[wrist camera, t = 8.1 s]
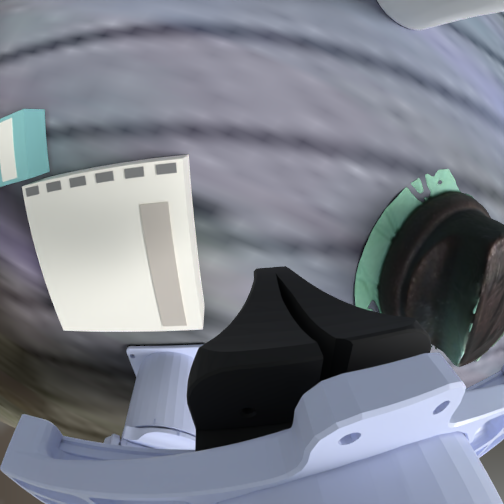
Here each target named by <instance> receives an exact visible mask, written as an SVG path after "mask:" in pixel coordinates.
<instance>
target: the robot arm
mask: <svg viewBox="0 0 504 504" xmlns="http://www.w3.org/2000/svg"><path fill="white" fill-rule="evenodd" d="M430 350H431V339H430V336H429V334H428V333H427V332H426V331H425V329H424V328H423V327H422V326H421V325H420V324H419V322H418V321H417V320H416V319H415V318H410V317H401V316H393V315H387V314H382V313H378V312H373V311H370V310H366V309H363V308H360V307H357V306H354V305H351V304H348V303H346V302H344V301H341V300H339V299H337V298H335V297H333V296H331V295H329V294H327V293H325V292H323V291H322V290H320V289H318V288H316V287H315V286H313V285H312V284H310V283H309V282H307V281H306V280H304V279H303V278H302V277H300V276H299V275H297V274H296V273H295V272H293V271H292V270H290V269H289V268H287V267H286V266H285V267H273V268H260V269H256V270H255V271H254V282H253V285H252V288H251V291H250V294H249V296H248V298H247V300H246V302H245V304H244V306H243V307H242V309H241V311H240V312H239V313H238V315H237V316H236V317H235V319H234V320H233V321H232V322H231V324H230V325H229V326H228V327H227V328H226V329H225V330H223V331H222V332H221V333H220V334H219V335H218V336H216V337H215V338H214V339H212V340H210V341H209V342H207V343H206V344H201V345H176V346H129V347H127V350H126V352H127V355H128V357H129V360H130V363H131V365H132V368H133V370H134V373H135V375H136V381H135V385H134V389H133V393H132V397H131V401H130V405H129V410H128V414H127V418H126V423H125V427H124V430H123V433H122V437H121V440H120V436H119V435H116V434H112V436H109V437H107V438H105V440H104V443H99V442H93V441H87V440H81V439H76V438H71V437H67V436H62V434H61V432H60V431H59V429H58V428H57V427H56V426H55V425H54V424H53V423H51V422H49V421H47V420H45V419H41V418H37V417H33V416H29V415H26V414H22V416H21V418H20V420H19V423H18V425H17V427H16V429H15V432H14V434H13V436H12V439H11V441H10V444H9V446H8V448H7V451H6V454H5V456H4V459H3V462H2V464H1V467H0V468H1V471H2V472H3V473H4V474H6V475H7V476H8V477H9V478H10V479H12V480H13V481H14V482H15V483H17V484H18V485H19V486H21V487H22V488H23V489H25V490H26V491H27V492H29V493H30V494H31V495H33V496H34V497H36V498H37V499H39V500H40V501H41V502H43V503H45V504H503V502H502V500H501V498H500V496H499V495H498V493H497V491H496V489H495V487H494V485H493V483H492V481H491V480H490V478H489V476H488V474H487V472H486V470H485V469H484V467H483V465H482V463H481V462H480V460H479V458H480V457H481V456H482V455H484V454H485V453H486V452H488V451H489V450H490V449H492V448H493V447H494V446H496V445H497V444H498V443H499V442H501V441H502V440H503V439H504V364H503V366H502V369H501V370H500V371H499V372H497V373H495V374H493V375H492V376H490V377H488V378H486V379H484V380H482V381H480V382H478V383H476V384H474V385H472V386H470V387H468V388H466V386H465V385H464V383H463V382H462V380H461V379H460V378H459V377H458V375H457V374H456V373H455V371H454V370H453V369H452V368H451V366H450V365H449V364H448V362H447V361H446V360H445V359H444V357H443V356H442V355H441V354H440V352H438V353H430ZM132 354H133V355H135V356H133V355H132Z"/></svg>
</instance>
